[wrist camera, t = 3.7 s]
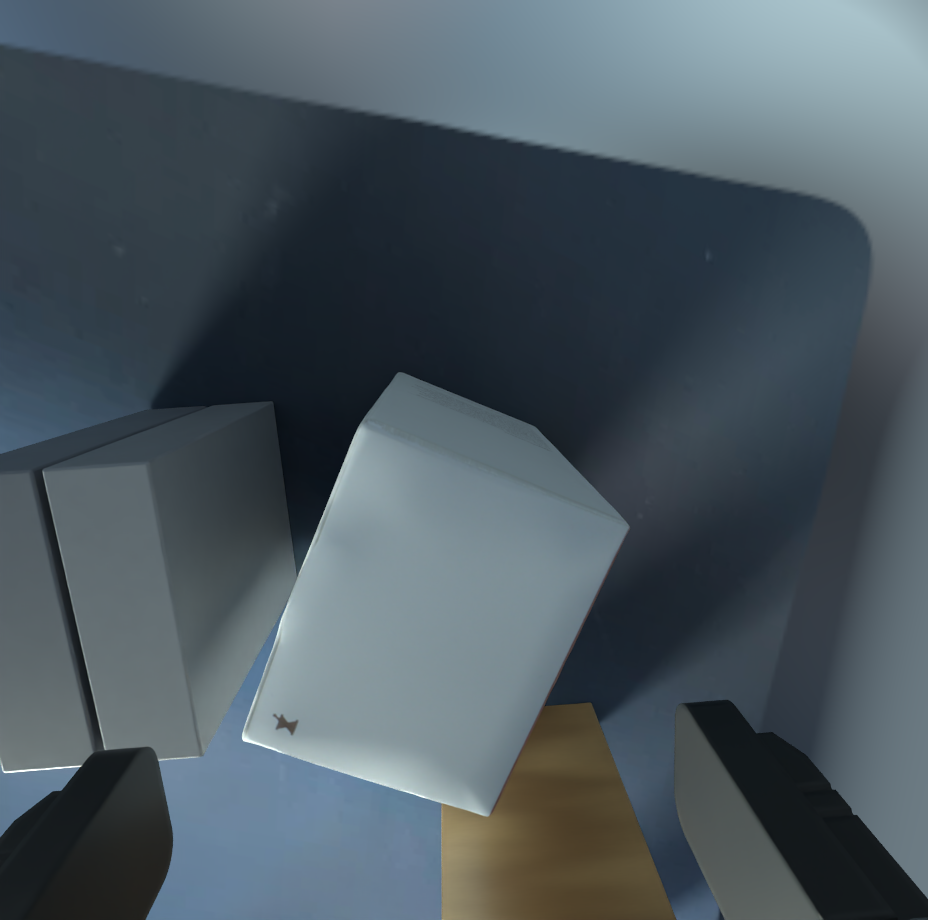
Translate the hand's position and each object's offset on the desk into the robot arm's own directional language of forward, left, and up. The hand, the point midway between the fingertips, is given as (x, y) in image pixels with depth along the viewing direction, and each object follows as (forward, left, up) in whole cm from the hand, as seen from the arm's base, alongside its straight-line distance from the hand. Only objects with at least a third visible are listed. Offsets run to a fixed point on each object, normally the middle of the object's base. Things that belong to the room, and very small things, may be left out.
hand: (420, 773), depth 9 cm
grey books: (+9, 0, -17) cm, 19 cm away
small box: (0, 0, -17) cm, 17 cm away
